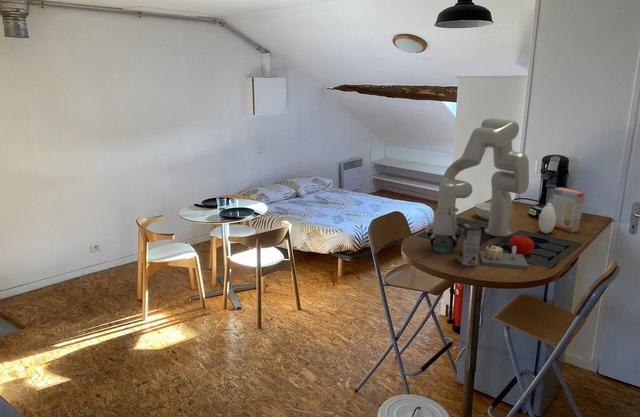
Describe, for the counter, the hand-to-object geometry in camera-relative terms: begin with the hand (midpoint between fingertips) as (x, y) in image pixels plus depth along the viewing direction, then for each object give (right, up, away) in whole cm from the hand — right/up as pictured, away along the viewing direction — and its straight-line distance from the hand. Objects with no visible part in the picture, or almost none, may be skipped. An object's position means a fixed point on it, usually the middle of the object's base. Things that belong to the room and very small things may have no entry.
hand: (442, 247), depth 224 cm
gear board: (+23, -5, -12) cm, 26 cm away
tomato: (+34, -3, -1) cm, 35 cm away
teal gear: (0, -1, 0) cm, 1 cm away
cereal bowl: (+39, +12, +54) cm, 68 cm away
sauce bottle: (+60, +5, +30) cm, 67 cm away
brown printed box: (+7, -5, -13) cm, 16 cm away
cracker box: (+73, +7, +38) cm, 82 cm away
